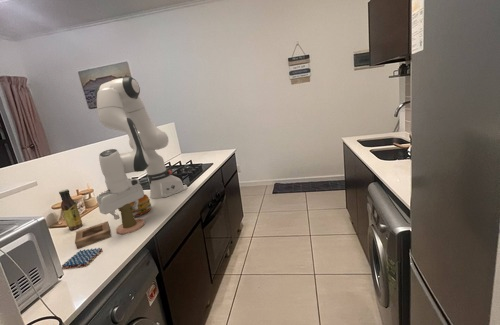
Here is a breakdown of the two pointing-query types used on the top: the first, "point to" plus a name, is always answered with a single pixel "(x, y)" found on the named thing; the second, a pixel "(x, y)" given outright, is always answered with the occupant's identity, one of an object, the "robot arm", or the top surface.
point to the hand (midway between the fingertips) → (126, 214)
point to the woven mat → (82, 258)
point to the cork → (127, 216)
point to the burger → (141, 206)
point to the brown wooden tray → (92, 234)
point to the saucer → (128, 230)
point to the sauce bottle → (70, 210)
